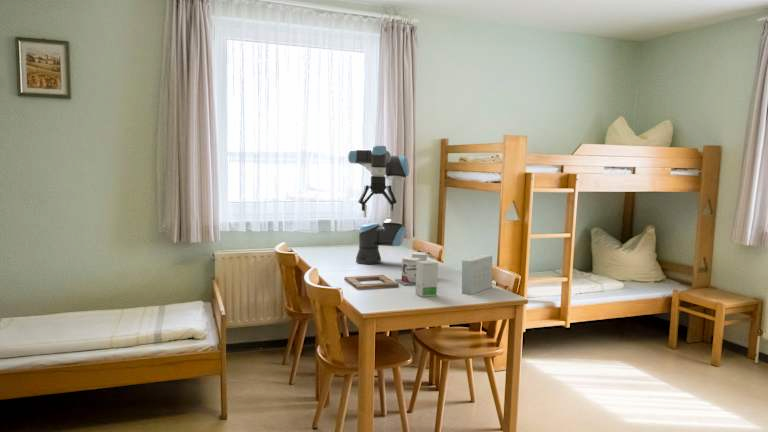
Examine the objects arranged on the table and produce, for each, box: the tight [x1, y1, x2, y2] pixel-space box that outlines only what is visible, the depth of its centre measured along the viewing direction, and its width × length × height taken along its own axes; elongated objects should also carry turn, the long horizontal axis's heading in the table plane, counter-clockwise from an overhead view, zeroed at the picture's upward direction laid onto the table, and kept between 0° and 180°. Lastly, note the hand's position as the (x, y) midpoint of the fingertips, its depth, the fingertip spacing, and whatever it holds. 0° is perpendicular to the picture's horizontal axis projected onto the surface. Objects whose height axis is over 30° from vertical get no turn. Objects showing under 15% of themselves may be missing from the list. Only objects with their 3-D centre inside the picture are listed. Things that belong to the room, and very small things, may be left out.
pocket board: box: [344, 274, 399, 291], centre depth 267 cm, size 21×21×2 cm
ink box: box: [400, 256, 421, 283], centre depth 271 cm, size 9×5×12 cm, turn 69°
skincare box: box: [415, 260, 439, 298], centre depth 247 cm, size 8×7×16 cm
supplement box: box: [411, 251, 428, 261], centre depth 285 cm, size 7×7×13 cm
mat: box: [394, 278, 416, 287], centre depth 272 cm, size 12×12×1 cm
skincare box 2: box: [461, 254, 493, 296], centre depth 259 cm, size 21×6×16 cm, turn 141°
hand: (377, 217), depth 278 cm, fingers open, 13 cm apart
